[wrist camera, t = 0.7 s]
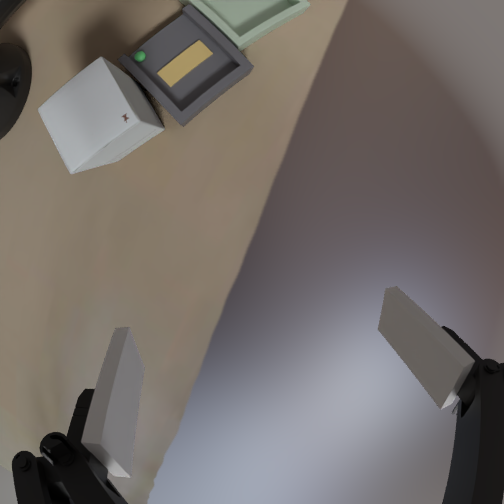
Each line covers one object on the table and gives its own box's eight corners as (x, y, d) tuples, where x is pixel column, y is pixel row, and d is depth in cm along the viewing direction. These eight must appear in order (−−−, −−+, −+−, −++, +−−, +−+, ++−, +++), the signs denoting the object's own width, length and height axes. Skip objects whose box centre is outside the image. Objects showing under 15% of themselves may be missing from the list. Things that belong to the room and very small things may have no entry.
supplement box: (138, 80, 28) (103, 52, 16) (166, 130, 31) (143, 123, 19) (88, 115, 28) (35, 108, 17) (115, 163, 31) (70, 177, 19)
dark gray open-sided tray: (126, 67, 27) (117, 59, 23) (190, 15, 25) (189, 3, 22) (183, 126, 31) (180, 124, 27) (249, 73, 29) (253, 66, 26)
